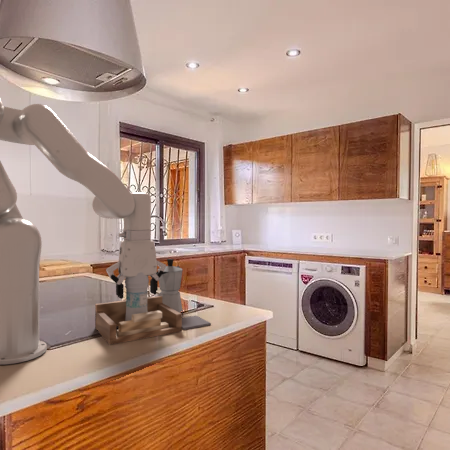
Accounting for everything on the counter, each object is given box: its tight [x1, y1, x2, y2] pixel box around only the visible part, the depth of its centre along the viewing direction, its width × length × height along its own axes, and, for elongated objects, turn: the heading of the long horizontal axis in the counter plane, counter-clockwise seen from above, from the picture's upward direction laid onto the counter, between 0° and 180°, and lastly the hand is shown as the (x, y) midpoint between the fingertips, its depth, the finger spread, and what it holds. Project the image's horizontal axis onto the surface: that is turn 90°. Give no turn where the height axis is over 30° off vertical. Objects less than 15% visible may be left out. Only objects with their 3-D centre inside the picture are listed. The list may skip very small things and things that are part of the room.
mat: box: [182, 315, 212, 331], centre depth 107 cm, size 9×9×1 cm
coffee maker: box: [157, 258, 184, 313], centre depth 120 cm, size 15×9×18 cm, turn 167°
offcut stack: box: [116, 311, 169, 337], centre depth 97 cm, size 14×2×6 cm, turn 123°
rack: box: [94, 295, 183, 346], centre depth 101 cm, size 20×15×7 cm
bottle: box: [124, 272, 150, 321], centre depth 101 cm, size 7×7×20 cm
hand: (137, 295), depth 102 cm, fingers open, 9 cm apart
